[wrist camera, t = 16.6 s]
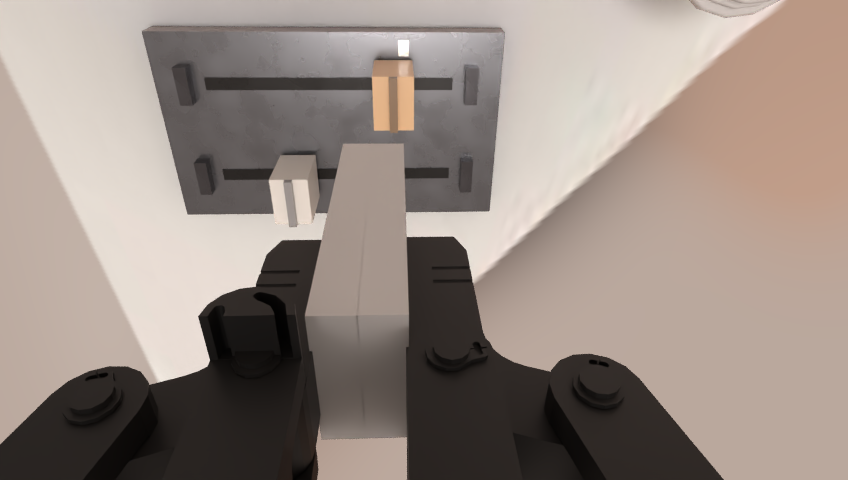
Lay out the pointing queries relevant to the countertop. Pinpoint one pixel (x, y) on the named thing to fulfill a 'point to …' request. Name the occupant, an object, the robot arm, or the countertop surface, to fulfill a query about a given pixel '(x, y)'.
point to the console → (324, 109)
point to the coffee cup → (732, 6)
